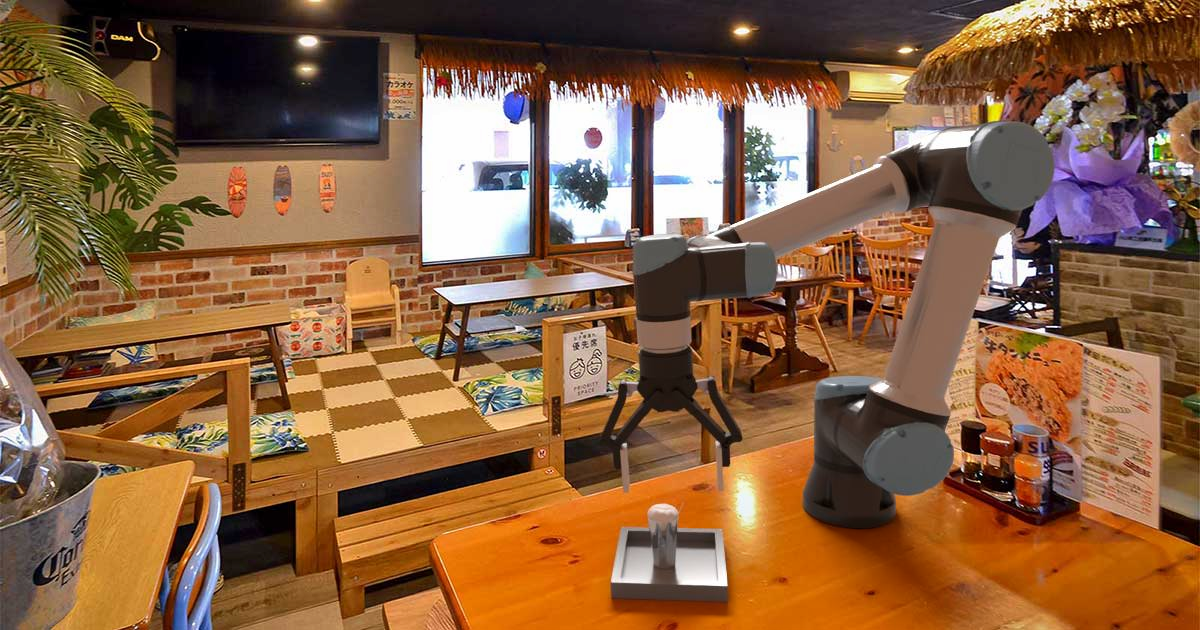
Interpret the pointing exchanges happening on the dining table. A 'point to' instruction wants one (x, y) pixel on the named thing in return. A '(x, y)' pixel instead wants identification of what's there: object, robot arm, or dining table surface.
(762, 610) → the dining table surface
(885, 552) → the dining table surface
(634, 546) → the slate tray
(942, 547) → the dining table surface
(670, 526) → the milkshake
